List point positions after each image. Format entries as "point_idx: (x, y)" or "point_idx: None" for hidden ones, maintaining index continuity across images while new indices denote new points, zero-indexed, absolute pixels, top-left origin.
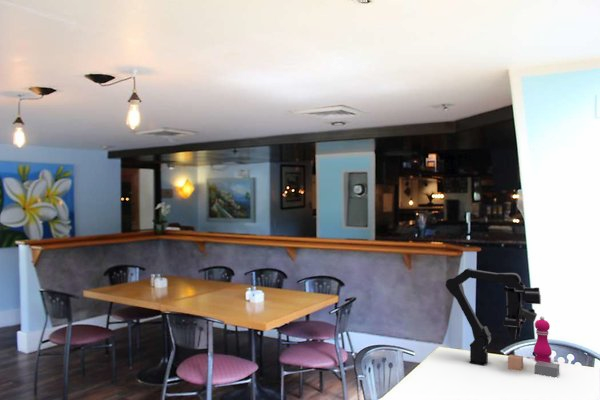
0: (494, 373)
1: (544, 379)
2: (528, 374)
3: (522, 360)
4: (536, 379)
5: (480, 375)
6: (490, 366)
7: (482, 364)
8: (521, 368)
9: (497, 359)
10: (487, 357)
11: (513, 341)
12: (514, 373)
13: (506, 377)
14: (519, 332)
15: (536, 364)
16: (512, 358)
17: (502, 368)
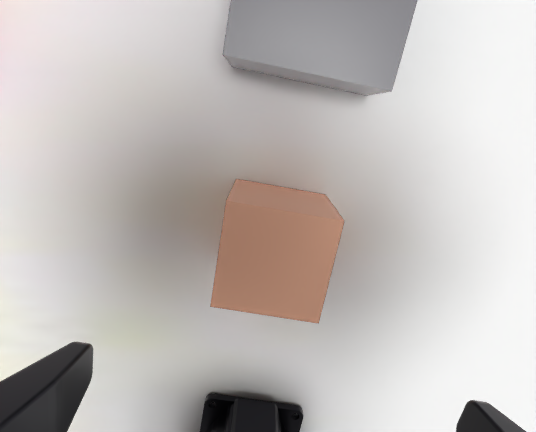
0: (456, 348)
1: (500, 27)
2: (401, 144)
3: (253, 196)
4: (517, 90)
5: (524, 412)
6: (301, 373)
7: (301, 418)
8: (304, 193)
9: (95, 341)
10: (247, 426)
11: (479, 420)
12: (411, 236)
13: (525, 283)
14: (22, 414)
15: (377, 74)
16: (325, 285)
17: None
